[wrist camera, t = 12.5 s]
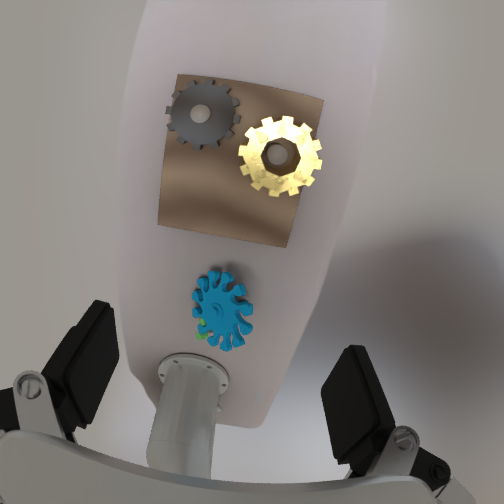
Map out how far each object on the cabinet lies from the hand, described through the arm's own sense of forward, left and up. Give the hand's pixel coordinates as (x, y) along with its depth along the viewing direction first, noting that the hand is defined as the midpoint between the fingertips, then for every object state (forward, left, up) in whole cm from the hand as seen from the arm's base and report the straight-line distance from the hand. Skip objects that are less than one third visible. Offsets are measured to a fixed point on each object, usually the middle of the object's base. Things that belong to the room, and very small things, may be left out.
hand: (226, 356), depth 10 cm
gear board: (+4, 0, -23) cm, 23 cm away
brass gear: (+3, -5, -21) cm, 22 cm away
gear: (-12, +8, -23) cm, 27 cm away
